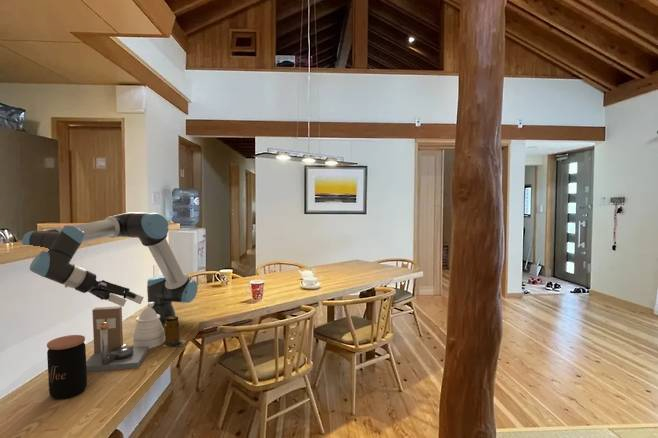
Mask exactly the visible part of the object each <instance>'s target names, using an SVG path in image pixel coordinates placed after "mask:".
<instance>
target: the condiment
mask: <svg viewBox="0 0 658 438" xmlns="http://www.w3.org/2000/svg"><path fill="white" fill-rule="evenodd" d="M180 335H181V334H180V321H179V317H178V316H177V315H176V316H169V317H167V318H166V323H164V339H165V341H164V343H163V344H162V346H161V347H162V348H163V347H164V348H165V347H167V348H171V347H182V346H183V345H184V344H185V343H186V341H187V339H181V338H180ZM165 343H166V344H165Z"/></svg>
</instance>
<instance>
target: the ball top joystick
mask: <svg viewBox="0 0 658 438" xmlns="http://www.w3.org/2000/svg"><path fill="white" fill-rule="evenodd" d="M107 328H108V323H106V322H102V323H100V325H99V329H100V340H101V364H102V365H107V364H109V362H110V361H112V360H120V359H125V358H128V357H130V356H132V355H133V345H129V344H128V345H127V343H123V346H119V347H116V348H113V349H112V350H111V355H109V356H108V332H107Z"/></svg>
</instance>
